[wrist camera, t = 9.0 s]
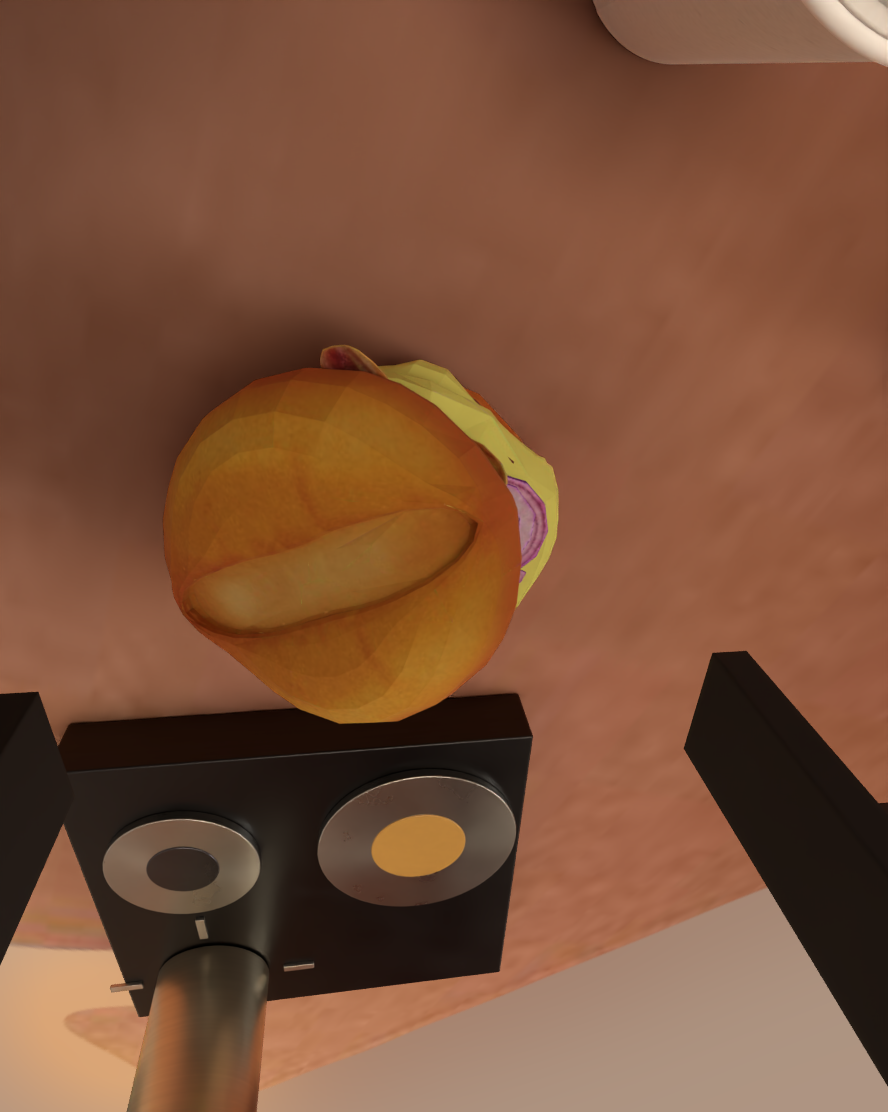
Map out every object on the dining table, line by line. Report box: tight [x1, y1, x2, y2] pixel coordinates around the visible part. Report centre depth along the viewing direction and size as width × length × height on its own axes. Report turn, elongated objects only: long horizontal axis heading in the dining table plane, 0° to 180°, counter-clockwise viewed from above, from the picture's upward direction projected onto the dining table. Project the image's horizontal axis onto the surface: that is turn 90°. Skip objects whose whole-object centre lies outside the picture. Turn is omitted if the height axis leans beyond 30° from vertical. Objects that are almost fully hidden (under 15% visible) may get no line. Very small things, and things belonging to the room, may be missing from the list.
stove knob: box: [127, 946, 269, 1112], centre depth 27 cm, size 5×5×8 cm
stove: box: [58, 694, 533, 1017], centre depth 30 cm, size 19×19×3 cm
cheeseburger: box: [163, 345, 558, 724], centre depth 19 cm, size 10×11×10 cm
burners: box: [103, 769, 516, 914], centre depth 27 cm, size 8×17×1 cm, turn 88°
